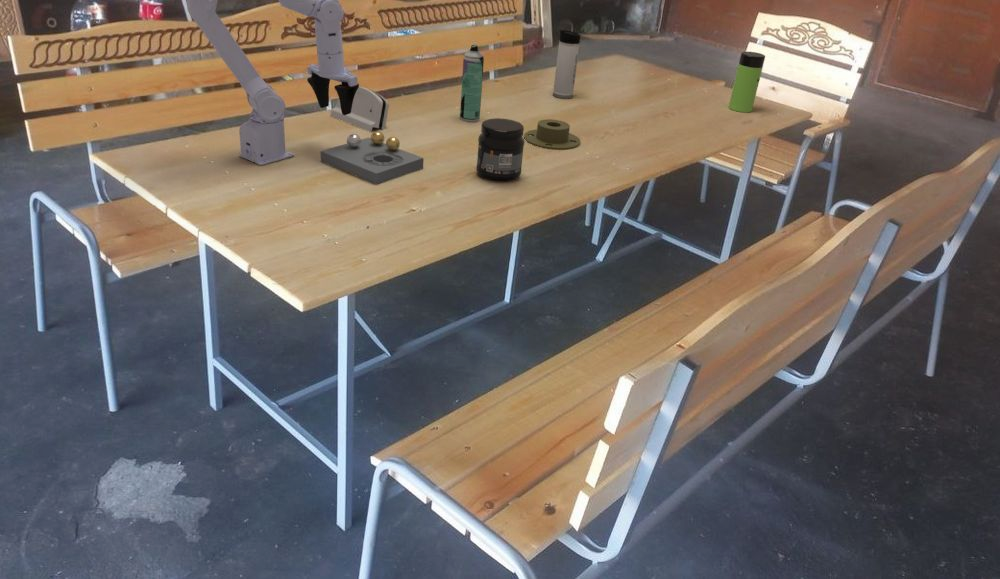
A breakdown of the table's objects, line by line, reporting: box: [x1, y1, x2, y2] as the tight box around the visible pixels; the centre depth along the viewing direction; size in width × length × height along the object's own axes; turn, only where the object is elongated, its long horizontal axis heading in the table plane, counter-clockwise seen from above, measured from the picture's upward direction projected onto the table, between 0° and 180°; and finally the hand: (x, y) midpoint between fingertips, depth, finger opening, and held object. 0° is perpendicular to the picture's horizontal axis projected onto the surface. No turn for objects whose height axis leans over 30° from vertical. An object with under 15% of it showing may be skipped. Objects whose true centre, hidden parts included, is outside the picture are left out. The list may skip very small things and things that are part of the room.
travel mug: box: [552, 29, 581, 100], centre depth 239 cm, size 6×7×20 cm
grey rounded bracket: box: [329, 86, 390, 133], centre depth 204 cm, size 17×5×10 cm, turn 49°
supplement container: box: [475, 117, 526, 183], centre depth 178 cm, size 10×10×12 cm
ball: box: [346, 133, 361, 148], centre depth 180 cm, size 3×3×3 cm
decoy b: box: [385, 136, 401, 151], centre depth 181 cm, size 3×3×3 cm
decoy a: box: [370, 130, 385, 145], centre depth 183 cm, size 3×3×3 cm
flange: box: [523, 119, 581, 151], centre depth 205 cm, size 5×15×15 cm
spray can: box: [459, 44, 485, 123], centre depth 210 cm, size 6×6×20 cm
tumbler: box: [728, 51, 766, 113], centre depth 244 cm, size 8×8×17 cm
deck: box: [319, 137, 424, 185], centre depth 179 cm, size 18×15×2 cm
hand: (335, 110), depth 181 cm, fingers open, 7 cm apart
